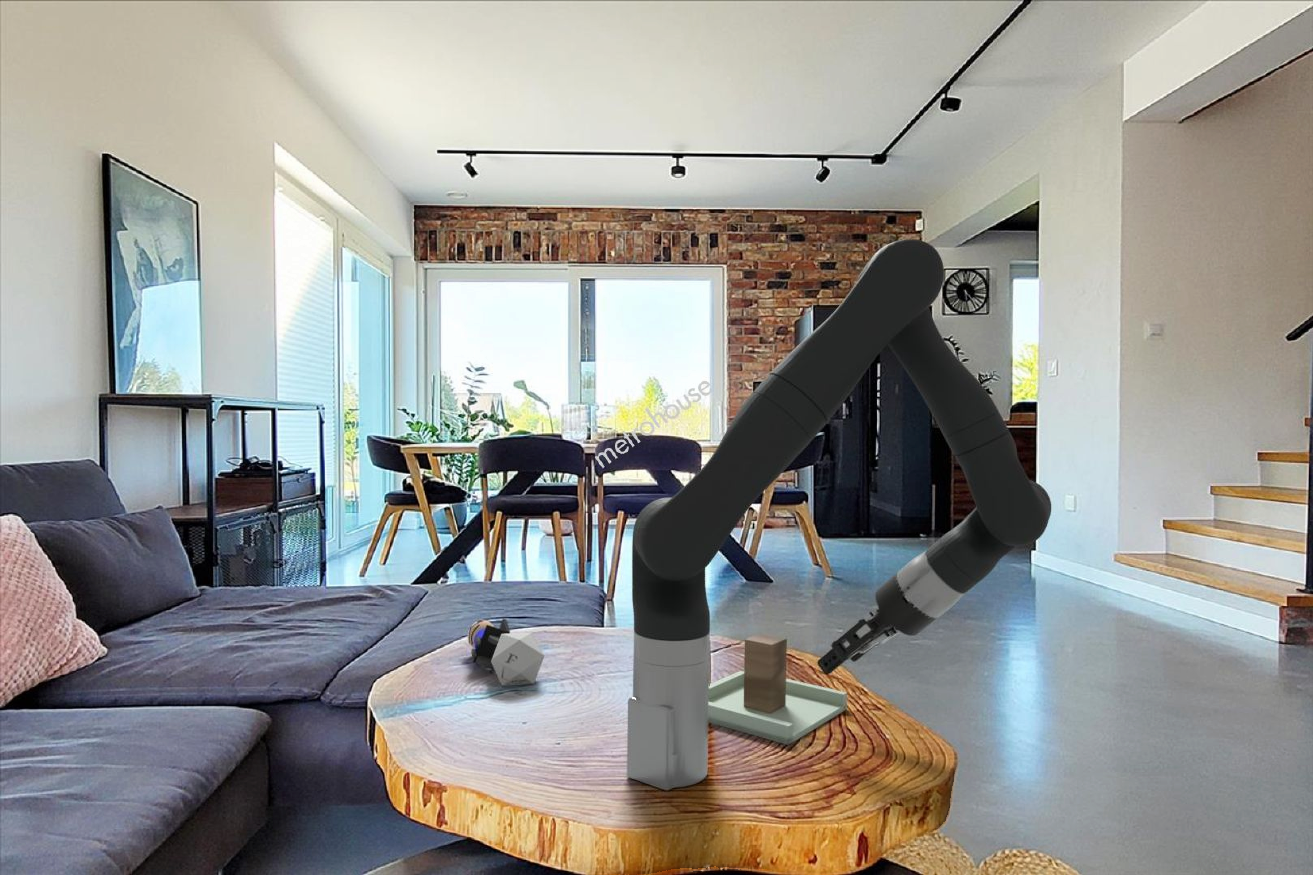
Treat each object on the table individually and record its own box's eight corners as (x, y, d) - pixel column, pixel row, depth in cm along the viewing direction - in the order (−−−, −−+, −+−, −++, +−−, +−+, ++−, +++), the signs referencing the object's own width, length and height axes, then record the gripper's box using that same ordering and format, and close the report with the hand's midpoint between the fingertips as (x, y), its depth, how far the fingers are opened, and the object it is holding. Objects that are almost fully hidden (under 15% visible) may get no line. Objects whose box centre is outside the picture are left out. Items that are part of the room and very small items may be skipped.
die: (479, 684, 135) (482, 647, 129) (508, 648, 142) (512, 611, 136) (522, 707, 133) (527, 670, 127) (550, 669, 140) (555, 632, 134)
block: (770, 713, 119) (771, 644, 119) (743, 706, 122) (744, 639, 122) (785, 705, 123) (786, 638, 123) (759, 699, 125) (760, 633, 125)
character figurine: (469, 679, 137) (468, 655, 151) (513, 673, 138) (509, 650, 153) (466, 632, 136) (466, 612, 151) (510, 627, 138) (506, 608, 153)
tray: (788, 744, 110) (788, 726, 110) (679, 714, 121) (679, 697, 121) (846, 709, 124) (847, 692, 124) (744, 684, 135) (744, 669, 135)
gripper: (920, 563, 115) (841, 630, 122) (879, 575, 104) (795, 649, 111) (957, 607, 112) (874, 674, 119) (919, 625, 101) (829, 697, 108)
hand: (836, 662), depth 115 cm, fingers open, 8 cm apart
